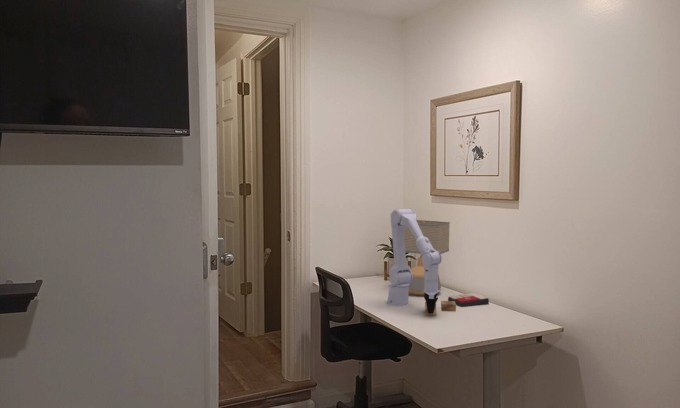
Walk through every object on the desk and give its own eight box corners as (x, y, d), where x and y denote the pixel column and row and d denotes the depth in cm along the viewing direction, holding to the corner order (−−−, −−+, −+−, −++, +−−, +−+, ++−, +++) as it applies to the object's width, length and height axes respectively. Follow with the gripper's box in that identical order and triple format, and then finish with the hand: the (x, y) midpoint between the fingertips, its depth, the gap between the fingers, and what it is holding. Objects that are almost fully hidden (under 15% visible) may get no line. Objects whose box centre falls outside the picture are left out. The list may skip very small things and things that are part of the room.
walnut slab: (441, 310, 224) (441, 304, 224) (440, 307, 230) (441, 300, 230) (455, 311, 224) (455, 304, 223) (454, 307, 229) (454, 301, 229)
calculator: (447, 295, 241) (474, 291, 246) (447, 304, 241) (474, 300, 247) (461, 301, 231) (489, 296, 236) (461, 310, 231) (489, 306, 236)
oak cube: (425, 314, 218) (425, 304, 218) (424, 312, 223) (425, 301, 222) (436, 315, 218) (436, 305, 217) (435, 312, 222) (435, 302, 222)
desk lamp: (449, 292, 261) (450, 220, 259) (434, 300, 245) (436, 223, 243) (409, 286, 273) (411, 217, 270) (393, 293, 257) (394, 220, 254)
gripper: (441, 284, 211) (440, 316, 212) (439, 276, 226) (439, 307, 227) (424, 283, 212) (423, 315, 213) (423, 276, 227) (422, 306, 228)
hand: (430, 311), depth 220 cm, fingers closed on oak cube, 4 cm apart
